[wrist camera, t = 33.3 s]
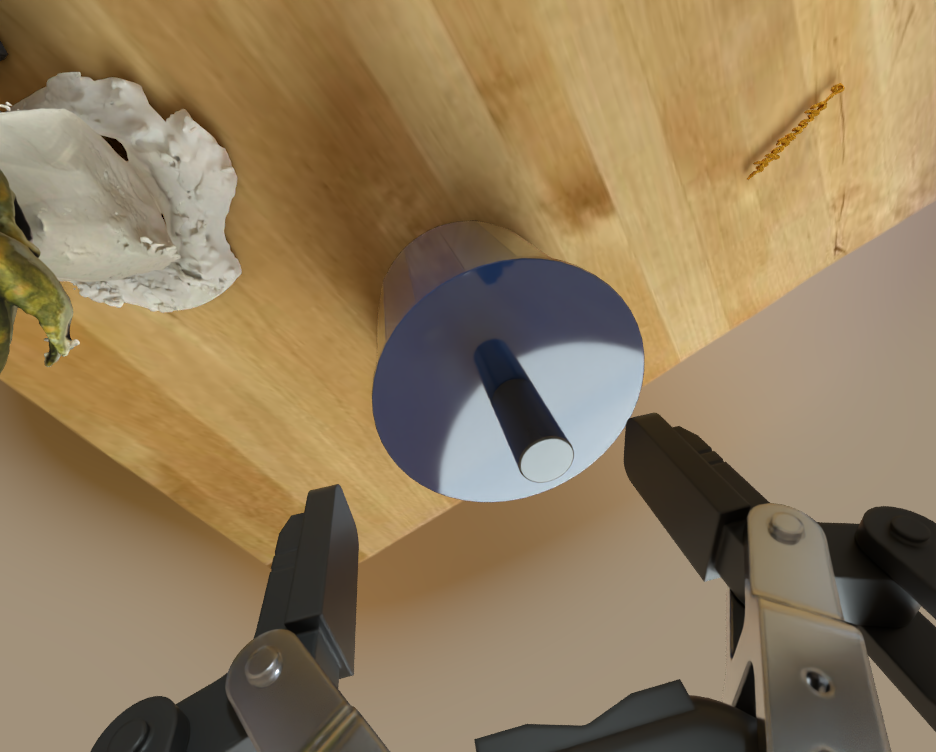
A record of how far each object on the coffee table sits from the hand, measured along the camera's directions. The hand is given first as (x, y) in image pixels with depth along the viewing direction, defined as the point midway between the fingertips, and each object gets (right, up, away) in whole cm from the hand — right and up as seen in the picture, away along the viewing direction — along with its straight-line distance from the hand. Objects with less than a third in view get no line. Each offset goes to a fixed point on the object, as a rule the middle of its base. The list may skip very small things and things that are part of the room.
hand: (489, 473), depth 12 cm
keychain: (+23, +19, +19) cm, 35 cm away
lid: (+2, +2, +11) cm, 11 cm away
